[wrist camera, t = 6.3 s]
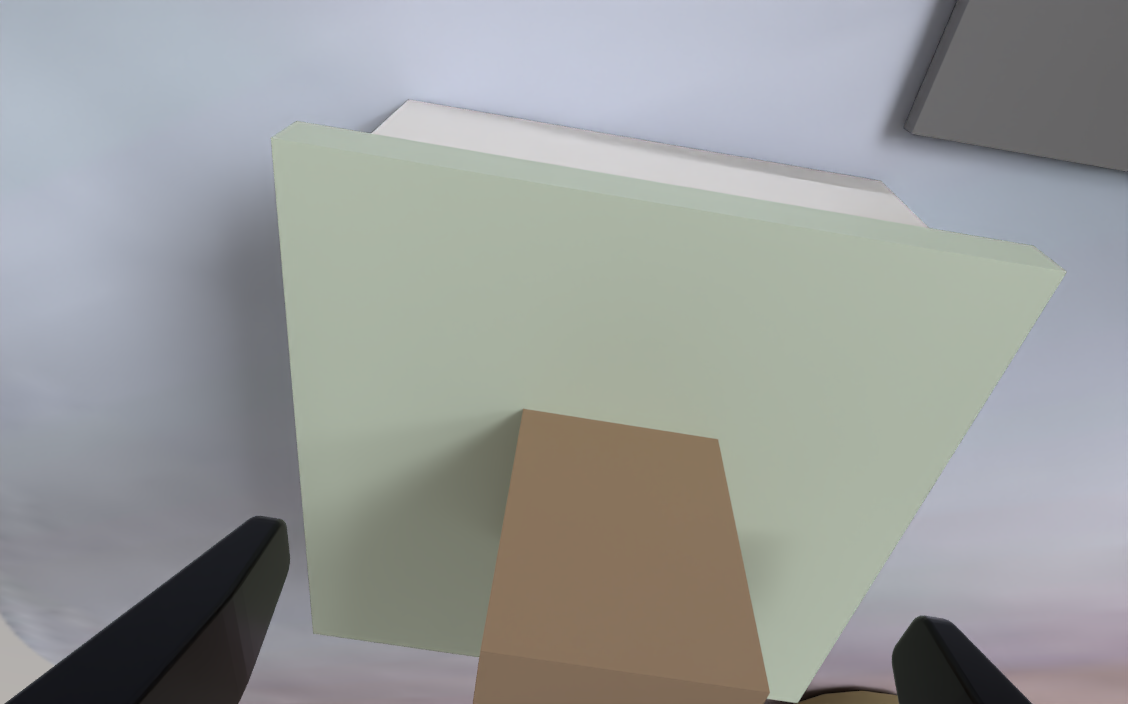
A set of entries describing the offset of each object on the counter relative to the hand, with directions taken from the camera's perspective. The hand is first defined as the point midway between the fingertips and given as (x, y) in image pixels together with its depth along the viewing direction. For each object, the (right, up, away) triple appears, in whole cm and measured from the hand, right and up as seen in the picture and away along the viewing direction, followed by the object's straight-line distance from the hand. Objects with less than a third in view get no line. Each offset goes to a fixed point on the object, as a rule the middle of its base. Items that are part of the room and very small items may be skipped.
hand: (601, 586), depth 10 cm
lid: (0, +1, +2) cm, 3 cm away
